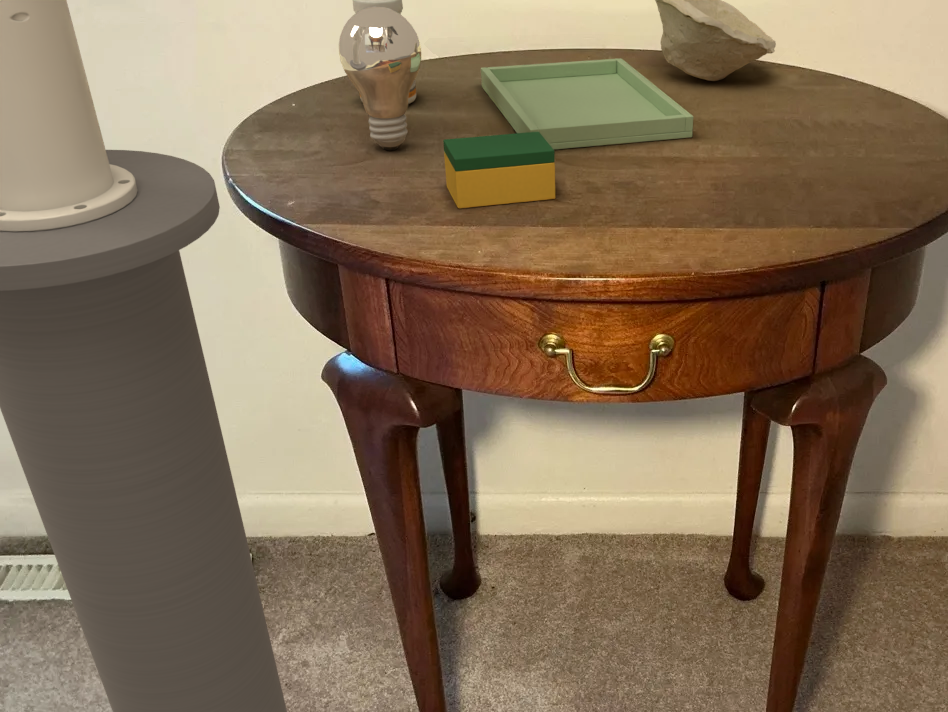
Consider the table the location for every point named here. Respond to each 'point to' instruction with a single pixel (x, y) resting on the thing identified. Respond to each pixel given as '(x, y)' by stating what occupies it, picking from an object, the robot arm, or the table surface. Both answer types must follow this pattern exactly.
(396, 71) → the light bulb
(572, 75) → the tray
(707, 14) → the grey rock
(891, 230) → the table surface
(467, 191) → the sponge
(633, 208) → the table surface
